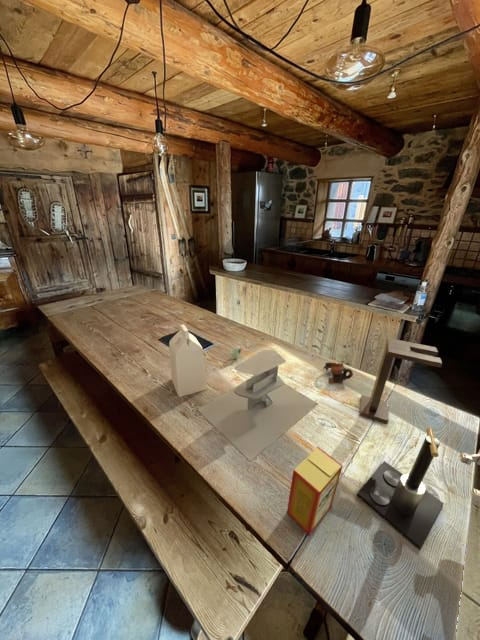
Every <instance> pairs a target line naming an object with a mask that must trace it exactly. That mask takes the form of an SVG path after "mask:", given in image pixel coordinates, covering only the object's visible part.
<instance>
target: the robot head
mask: <svg viewBox="0 0 480 640" xmlns="http://www.w3.org/2000/svg"><path fill="white" fill-rule="evenodd" d="M241 352H242V349H241V346H240V345H234V346H233V347H232V349H231V351H230V353H229V354H230V355H231V356H232V358H233V359H235V360H236V359H238V358H239V357H240V355H241V354H242V353H241Z"/></svg>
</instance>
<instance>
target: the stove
mask: <svg viewBox="0 0 480 640" xmlns="http://www.w3.org/2000/svg"><path fill="white" fill-rule="evenodd" d="M403 474H404V473H402V472H401V471H399V470H398V469H396V468H395V467H394V466H392V465H391V464H389V463H388V462H386V461H385V460H384V461H382V463H381V464H380V465H379V466H378V467H377V469H376V470H375V471H374V473H372V474H371V476H370V477H369V478H368V480H367V481H366V482H365V483H364V484H363V486H362V487H361V488H360V489H359V490H358V492H357V493H356V497H358V498H359V500H361V501H362V502H363V503H365V504H366V505H367V506H368V507H369V508H370V509H372V510H373V511H374V512H375V513H376V514H377V515H379V517H381V518H382V519H383V520H384V521H385V522H386V523H388V524H389V525H390V526H391V527H392V528H393V529H395V530H396V531H397V532H398V533H399V534H400V535H402V537H404V538H405V539H406V540H407V541H409V542H410V543H411V544H412V545H413V546H414V547H416V548H417V549H418V550H421V548H422V546H423V544H424V542H425V541H426V539H427V536H428V534H429V533H430V531H431V529H432V527H433V525H434V523H435V521H436V519H437V517H438V516H439V514H440V512H441V510H442V508H443V506H444V502H443V501H441V500H440V499H439V498H437V497H436V496H434V495H433V494H431V493H430V492H429V491H428V490H426V489H425V493H424V495H423V497H422V499H421V501H420V503H419V505H418V507H417V509H416V511H415V513H414V514H413V515H406V514H403V513H401V512H400V511H399V510H398V509H397V508H396V507H395V506H394V504H393V502H392V496H393V494H394V491H395V489H396V487H397V484H398V482H399V480H400V477H401V475H403Z"/></svg>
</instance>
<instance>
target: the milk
mask: <svg viewBox="0 0 480 640" xmlns="http://www.w3.org/2000/svg"><path fill="white" fill-rule="evenodd" d="M168 347H169V361H170V362H169V363H170V376H171V378H170V379H171V381H172V384H173V387H174V388H175V392H176V394H177V397H178V398H181V397H185V396H188V395H192V394H195V393H198V392H202V391H205V390H208V384H207V383H208V381H207V374H206V365H205V356H204V348H203V346H202V345H201V343H200V342H199V341H198V339H197V337H196V336H195V335H193V334H192V333H190V332H189V329H188V328H187V326H186V325H185V323H184V324H180V325H179V331H178V332H176V334H175V335H174V336H173V337H171V339H170V340H169V342H168Z"/></svg>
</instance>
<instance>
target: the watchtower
mask: <svg viewBox="0 0 480 640" xmlns="http://www.w3.org/2000/svg"><path fill="white" fill-rule="evenodd" d="M286 362H287V359H285V358H284V357H283V356H282V355H281V354H280V353H279V352H278V351H276V350H274V349H262V350H260V351H258V352H256V353H255V354H254V355H252V356H250V357H248V358H247V359H245V360H244V361H242V362H240V363H239V364H237V365H236V366H234V370H236V372H239V373H242V374H246V375H251V377H250V378H248V379H246V380H245V381H244V382H241V383H240V384H238V385H237V386H234V387H233V388H231V389H230V390H227V391H226V392H224V393H223V394H221V395H219V396H217V397H215V398H214V399H212V400H210V401H208V402H207V403H205V404H203V405H202V406H200V407H198V408H196V410H197V412H199V414H201V415H202V417H204V418H205V419H206V420H207V421H208V423H210V425H212V426H213V427H214V428H215V429H216V430H217V432H219V433H220V434H221V435H222V436H223V437H224V438H226V439H227V441H229V442H230V443H231V444H232V446H234V447H235V448H236V449H237V450H238V452H240V453H241V454H242V455H243V456H244V457H245V458H246V459H247V460H248V461H249V462H252V461H253V460H254V459H255V458H257V457H258V456H259V455H260V454H261V453H263V452H264V451H265V450H266V449H267V448H268V447H270V445H273V443H274V442H276V441H277V440H278V439H279V438H280V437H281V436H283V435H284V434H285V433H286V432H288V430H290V429H291V428H292V427H293V426H294V425H296V423H298V422H299V421H300V420H302V418H303V417H305V416H307V414H308V413H310V412H311V411H312V410H313V409H314V408H315V407H316V406H318V405H319V403H318V402H317V401H316V400H313V399H311V398H310V397H308V396H306V395H305V394H303V393H302V392H300V391H299V390H297V389H295V388H293V387H292V386H290V385H289V384H287V383H285V382H284V380H283V379H282V378H281V377H280V376H279V374H278V373H279V366H280V365H283V364H284V363H286Z"/></svg>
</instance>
